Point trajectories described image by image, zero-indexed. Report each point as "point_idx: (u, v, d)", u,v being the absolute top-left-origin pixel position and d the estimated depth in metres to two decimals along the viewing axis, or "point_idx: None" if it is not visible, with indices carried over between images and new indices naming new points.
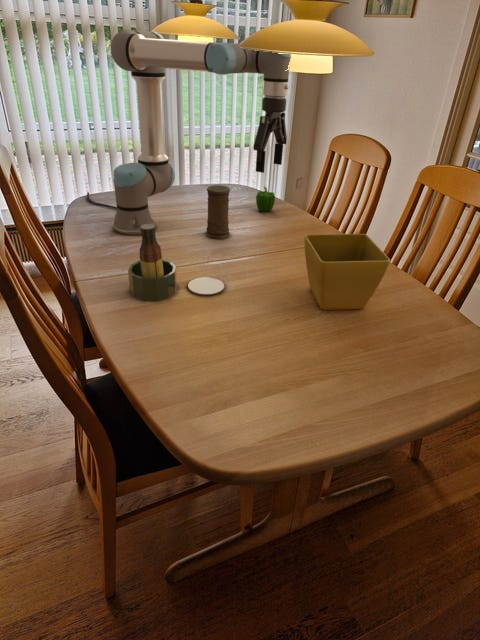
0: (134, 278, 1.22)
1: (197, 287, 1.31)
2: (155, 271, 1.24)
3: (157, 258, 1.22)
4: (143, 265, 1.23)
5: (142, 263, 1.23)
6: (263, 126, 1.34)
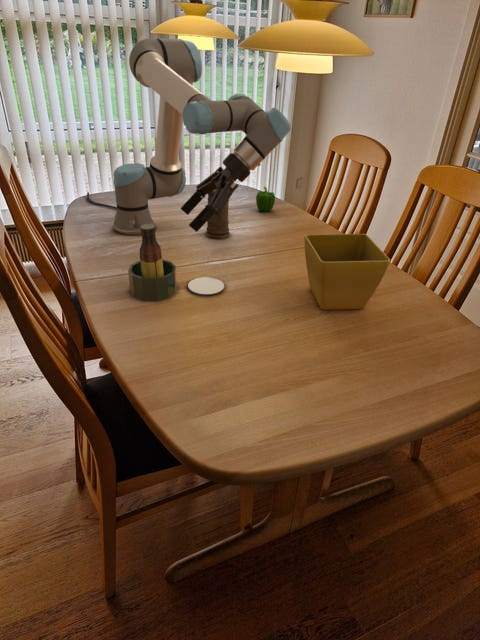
0: (134, 278, 1.22)
1: (197, 287, 1.31)
2: (155, 271, 1.24)
3: (157, 258, 1.22)
4: (143, 265, 1.23)
5: (142, 263, 1.23)
6: (230, 191, 1.13)
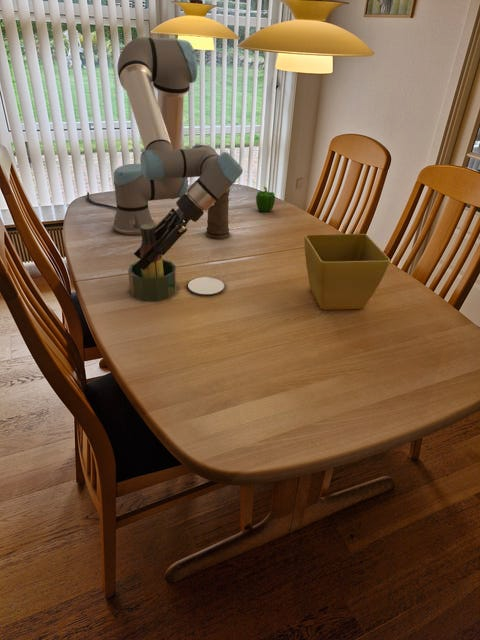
0: (134, 278, 1.22)
1: (197, 287, 1.31)
2: (155, 271, 1.24)
3: (157, 257, 1.22)
4: None
5: None
6: (177, 235, 1.17)
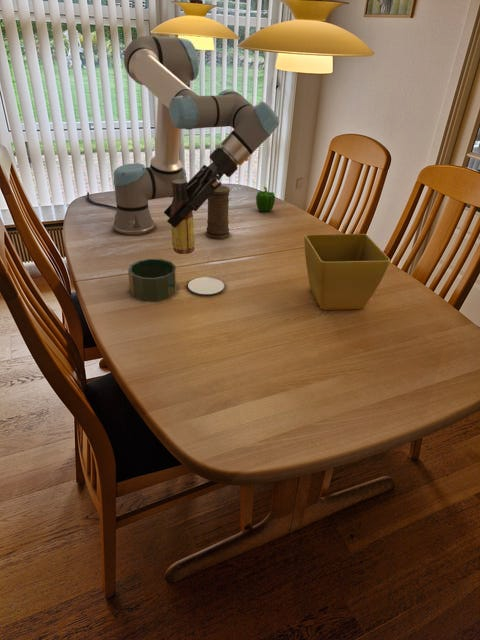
0: (134, 278, 1.22)
1: (197, 287, 1.31)
2: (186, 230, 1.19)
3: (188, 215, 1.18)
4: None
5: None
6: (211, 189, 1.12)
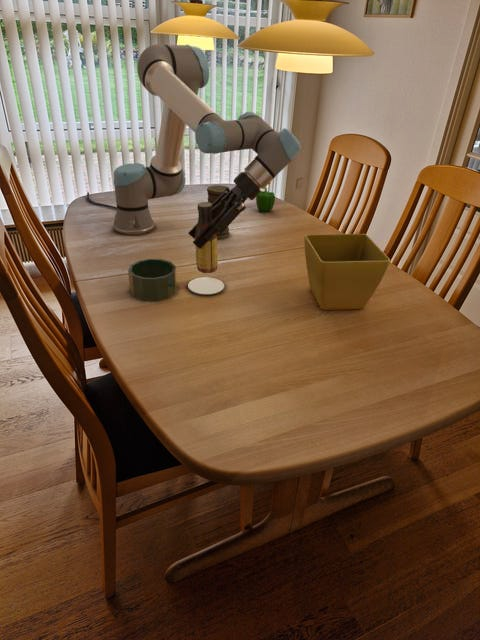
0: (134, 278, 1.22)
1: (197, 287, 1.31)
2: (210, 250, 1.24)
3: (213, 236, 1.22)
4: None
5: None
6: (236, 213, 1.16)
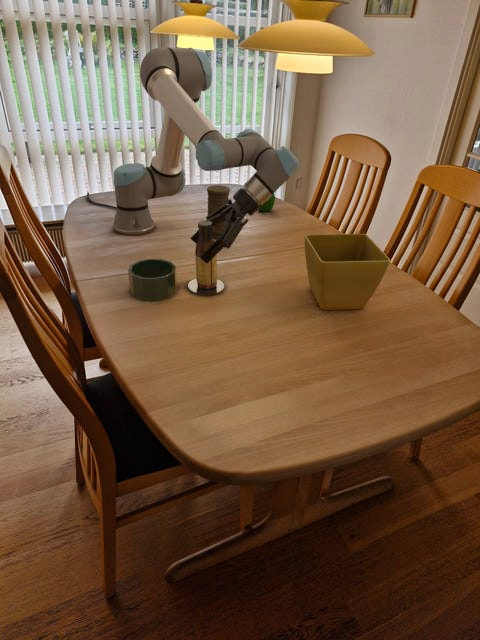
0: (134, 278, 1.22)
1: (197, 287, 1.31)
2: (210, 267, 1.27)
3: None
4: (199, 261, 1.26)
5: (198, 259, 1.26)
6: (240, 226, 1.18)
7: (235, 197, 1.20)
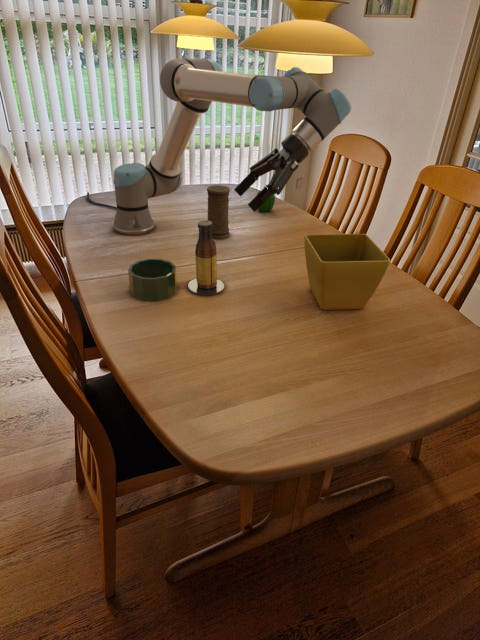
0: (134, 278, 1.22)
1: (197, 287, 1.31)
2: (210, 267, 1.27)
3: (213, 253, 1.25)
4: (199, 261, 1.26)
5: (198, 259, 1.26)
6: (290, 171, 1.14)
7: (284, 142, 1.16)
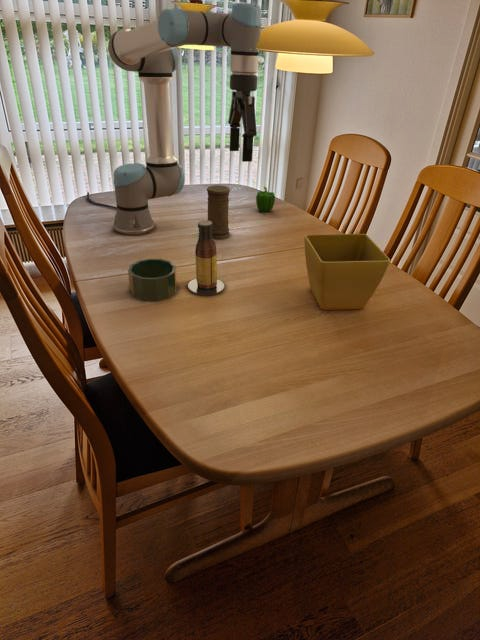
0: (134, 278, 1.22)
1: (197, 287, 1.31)
2: (210, 267, 1.27)
3: (213, 253, 1.25)
4: (199, 261, 1.26)
5: (198, 259, 1.26)
6: (251, 108, 1.17)
7: (231, 87, 1.19)
